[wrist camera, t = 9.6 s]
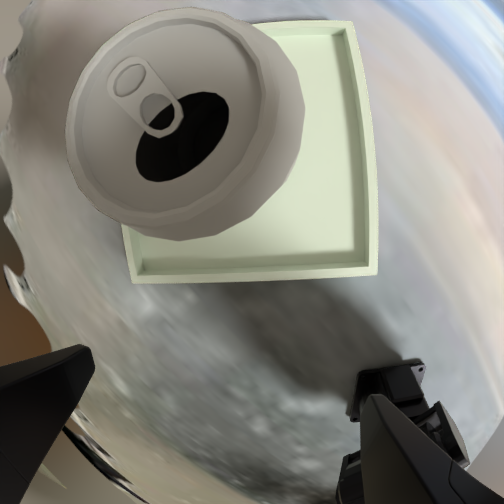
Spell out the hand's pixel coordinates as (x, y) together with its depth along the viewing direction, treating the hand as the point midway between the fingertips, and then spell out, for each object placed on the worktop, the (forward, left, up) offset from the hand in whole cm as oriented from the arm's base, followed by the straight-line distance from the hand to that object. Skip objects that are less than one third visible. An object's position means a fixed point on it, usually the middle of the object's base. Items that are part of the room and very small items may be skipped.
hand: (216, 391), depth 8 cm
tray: (+8, +1, -13) cm, 15 cm away
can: (+8, +1, -12) cm, 15 cm away
